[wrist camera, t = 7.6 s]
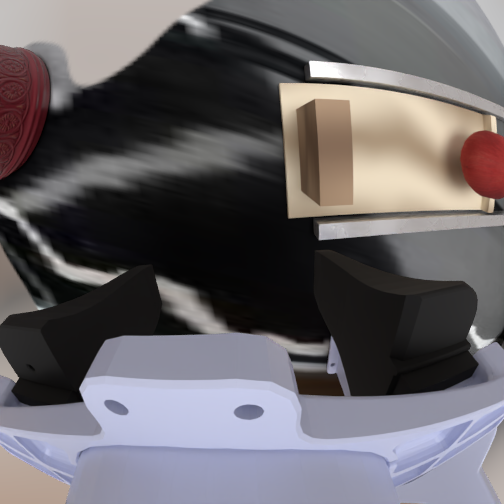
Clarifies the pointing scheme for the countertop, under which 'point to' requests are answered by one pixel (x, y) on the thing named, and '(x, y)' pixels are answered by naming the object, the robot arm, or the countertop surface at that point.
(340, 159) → the cream shallow tray
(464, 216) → the guide rails
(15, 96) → the canister
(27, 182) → the countertop surface
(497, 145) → the onion
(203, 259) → the countertop surface
